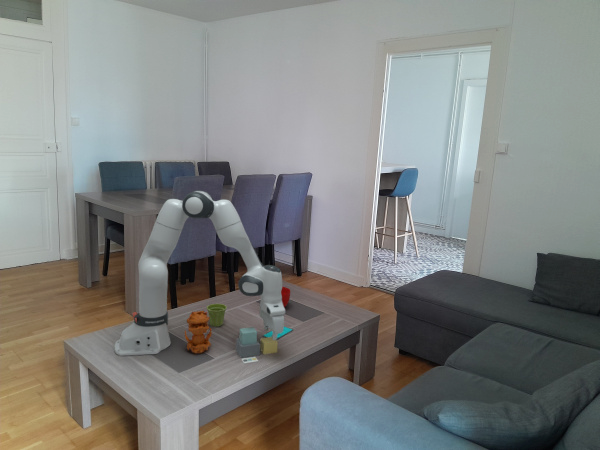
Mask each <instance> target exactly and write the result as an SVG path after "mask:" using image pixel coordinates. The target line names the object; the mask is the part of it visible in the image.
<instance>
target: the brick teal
mask: <svg viewBox="0 0 600 450" xmlns="http://www.w3.org/2000/svg"><path fill="white" fill-rule="evenodd" d="M257 335H258V331H257V330H256V329H255V327H253V326H251V327H244V328H239V340H240V342H241V343H242V345H246V344H254V343H257V341H258V339H257V338H258V336H257Z"/></svg>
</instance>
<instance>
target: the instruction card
mask: <svg viewBox="0 0 600 450" xmlns="http://www.w3.org/2000/svg"><path fill="white" fill-rule="evenodd" d="M241 361H242V363H243V364H250V363H256V362H259V360H258V358H257V356H253V357H247V358H241Z"/></svg>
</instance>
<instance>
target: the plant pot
mask: <svg viewBox="0 0 600 450" xmlns="http://www.w3.org/2000/svg"><path fill="white" fill-rule="evenodd" d="M226 309H228V308H227V305H225V304H222V303H212V304H209V305H207V306H206V310H207V313H208V317H210V318H209V324H210V326H212V327H213V326H214V327H215V328H216V327H220V326H222V325H224V319H225V314H226Z"/></svg>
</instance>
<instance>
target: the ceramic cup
mask: <svg viewBox="0 0 600 450" xmlns="http://www.w3.org/2000/svg"><path fill="white" fill-rule="evenodd" d="M281 295H282V303H283V306H284V308H285V307H286V306H287V305H288V303H289V302H290V297H291V289H290V288H288V287H285V286H282V290H281Z"/></svg>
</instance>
